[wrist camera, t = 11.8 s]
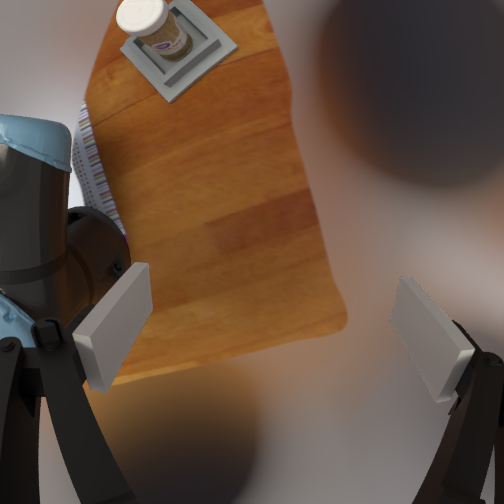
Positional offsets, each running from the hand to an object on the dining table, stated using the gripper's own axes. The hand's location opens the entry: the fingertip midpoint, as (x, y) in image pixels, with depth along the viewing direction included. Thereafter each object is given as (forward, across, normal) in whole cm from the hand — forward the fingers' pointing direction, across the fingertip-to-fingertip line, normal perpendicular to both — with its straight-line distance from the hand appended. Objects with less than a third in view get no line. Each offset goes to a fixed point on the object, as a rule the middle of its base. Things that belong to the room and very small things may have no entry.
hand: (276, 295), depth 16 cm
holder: (+26, -12, +20) cm, 35 cm away
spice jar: (+25, -12, +20) cm, 34 cm away
